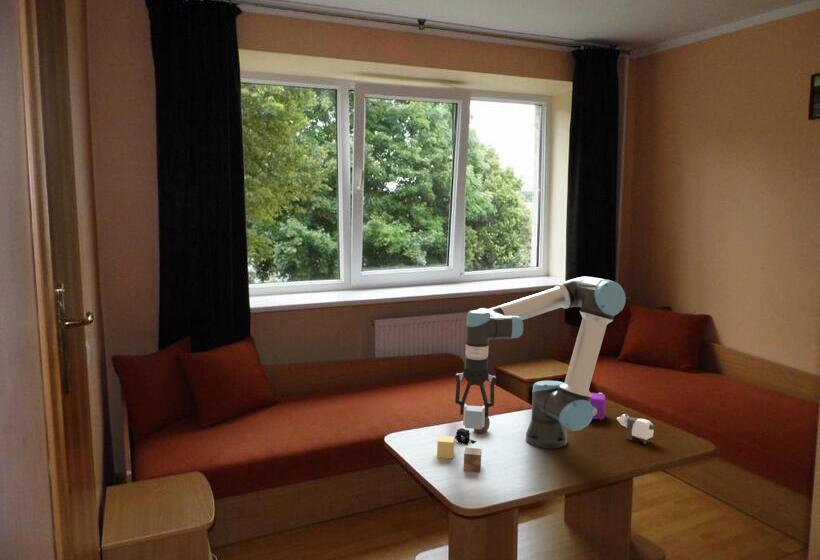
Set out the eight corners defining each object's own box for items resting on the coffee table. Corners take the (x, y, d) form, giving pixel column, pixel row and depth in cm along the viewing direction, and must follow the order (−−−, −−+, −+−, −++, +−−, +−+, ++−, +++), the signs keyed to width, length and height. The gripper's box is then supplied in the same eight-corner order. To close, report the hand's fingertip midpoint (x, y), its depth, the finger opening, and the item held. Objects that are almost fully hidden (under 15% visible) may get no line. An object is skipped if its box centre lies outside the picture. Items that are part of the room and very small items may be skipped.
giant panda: (655, 443, 234) (657, 418, 233) (648, 446, 230) (650, 422, 229) (619, 432, 244) (621, 409, 243) (612, 435, 241) (613, 411, 239)
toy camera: (581, 422, 255) (582, 399, 253) (578, 411, 268) (579, 389, 267) (608, 424, 253) (610, 401, 252) (603, 413, 266) (605, 391, 265)
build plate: (481, 443, 231) (482, 431, 231) (470, 449, 226) (471, 437, 225) (454, 435, 239) (455, 423, 239) (443, 440, 234) (444, 428, 233)
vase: (492, 430, 243) (493, 409, 242) (484, 435, 238) (485, 413, 236) (476, 427, 247) (477, 405, 246) (468, 432, 241) (469, 410, 240)
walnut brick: (480, 465, 210) (481, 448, 210) (480, 472, 205) (480, 455, 204) (464, 464, 211) (465, 447, 211) (463, 470, 206) (464, 453, 205)
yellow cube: (454, 452, 221) (454, 436, 220) (452, 459, 215) (453, 442, 215) (438, 451, 222) (439, 435, 221) (437, 457, 216) (437, 441, 216)
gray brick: (482, 423, 209) (483, 406, 208) (481, 429, 203) (482, 411, 203) (466, 422, 209) (466, 405, 209) (464, 428, 204) (465, 410, 203)
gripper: (447, 358, 201) (445, 426, 204) (504, 361, 198) (501, 431, 201) (449, 352, 209) (447, 418, 212) (505, 356, 206) (501, 423, 209)
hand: (473, 424), depth 206 cm, fingers closed on gray brick, 5 cm apart
